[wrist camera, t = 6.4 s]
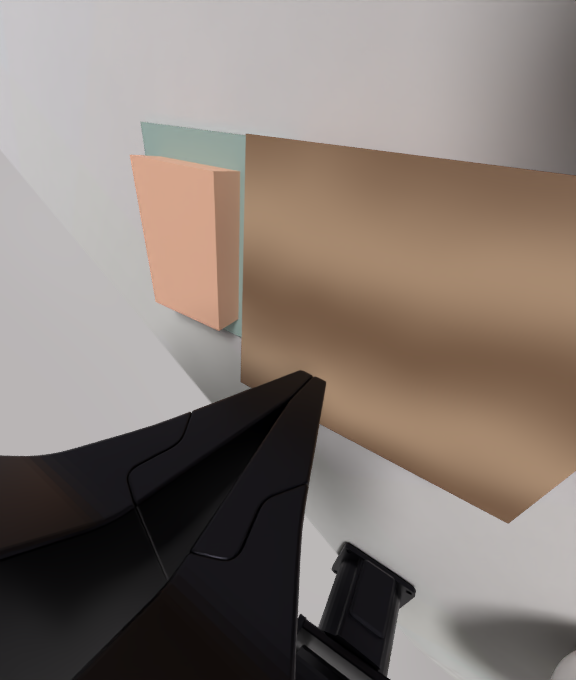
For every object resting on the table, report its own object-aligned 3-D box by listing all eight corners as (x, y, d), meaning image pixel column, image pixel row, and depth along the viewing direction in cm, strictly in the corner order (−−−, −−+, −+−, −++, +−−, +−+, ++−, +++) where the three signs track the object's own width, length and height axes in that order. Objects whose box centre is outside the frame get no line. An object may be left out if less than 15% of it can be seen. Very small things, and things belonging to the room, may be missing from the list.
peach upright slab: (155, 301, 20) (177, 293, 22) (219, 330, 18) (238, 319, 20) (129, 154, 15) (160, 156, 17) (213, 171, 13) (240, 171, 15)
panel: (270, 347, 20) (268, 349, 20) (170, 302, 23) (167, 303, 23) (289, 141, 13) (286, 140, 13) (145, 122, 17) (140, 121, 16)
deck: (501, 452, 15) (508, 523, 12) (276, 350, 20) (240, 382, 17) (737, 199, 8) (899, 216, 5) (299, 142, 13) (245, 133, 10)
